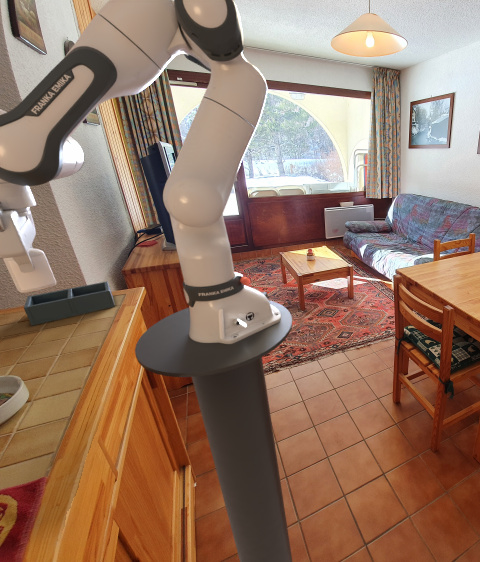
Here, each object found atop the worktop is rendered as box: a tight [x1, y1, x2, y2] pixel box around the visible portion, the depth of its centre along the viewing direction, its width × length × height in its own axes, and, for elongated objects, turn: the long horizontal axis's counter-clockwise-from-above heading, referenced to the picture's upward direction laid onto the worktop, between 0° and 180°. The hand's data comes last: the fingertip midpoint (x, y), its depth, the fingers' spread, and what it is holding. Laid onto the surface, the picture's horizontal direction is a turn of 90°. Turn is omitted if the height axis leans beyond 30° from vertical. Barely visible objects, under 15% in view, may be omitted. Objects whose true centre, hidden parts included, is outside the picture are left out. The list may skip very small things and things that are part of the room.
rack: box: [23, 281, 116, 326], centre depth 89 cm, size 17×9×5 cm, turn 131°
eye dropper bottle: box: [2, 247, 57, 294], centre depth 62 cm, size 4×6×12 cm
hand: (30, 267), depth 63 cm, fingers closed on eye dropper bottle, 4 cm apart
